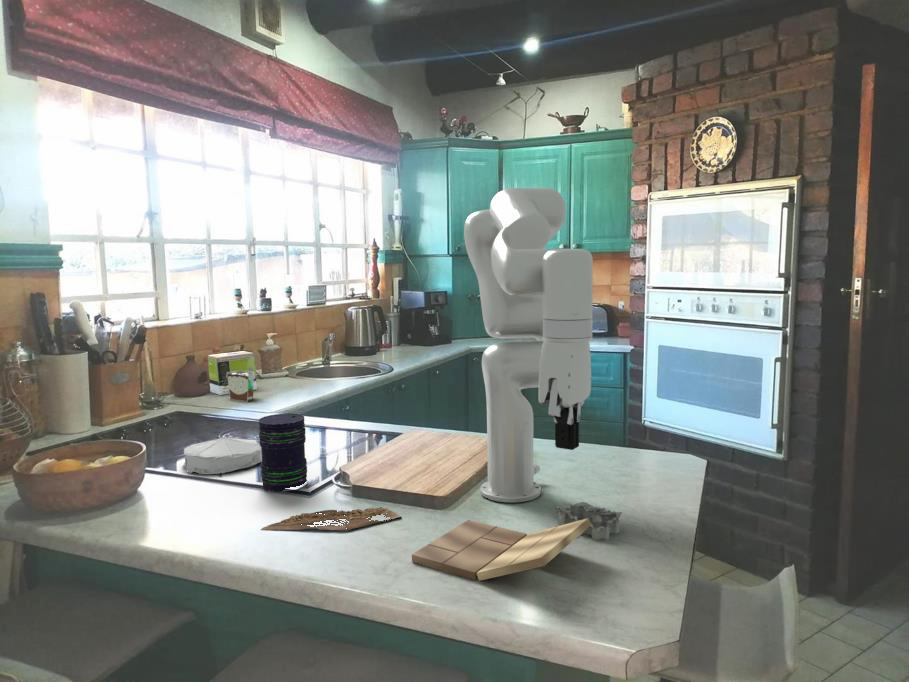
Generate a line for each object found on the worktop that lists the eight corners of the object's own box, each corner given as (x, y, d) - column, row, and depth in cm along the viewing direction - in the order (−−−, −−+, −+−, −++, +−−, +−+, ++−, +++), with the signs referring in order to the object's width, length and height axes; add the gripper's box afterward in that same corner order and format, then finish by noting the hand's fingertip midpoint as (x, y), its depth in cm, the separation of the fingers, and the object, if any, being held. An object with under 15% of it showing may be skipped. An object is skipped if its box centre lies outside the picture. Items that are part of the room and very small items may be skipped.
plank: (531, 540, 115) (528, 533, 115) (590, 525, 108) (587, 518, 108) (479, 580, 101) (476, 572, 101) (544, 565, 94) (540, 557, 94)
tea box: (247, 386, 266) (244, 350, 264) (257, 390, 258) (255, 352, 257) (209, 392, 257) (207, 354, 255) (219, 395, 249) (216, 356, 247)
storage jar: (273, 496, 140) (269, 426, 138) (254, 484, 147) (250, 418, 145) (315, 485, 146) (313, 418, 144) (295, 474, 154) (292, 411, 152)
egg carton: (551, 527, 122) (551, 505, 121) (576, 516, 127) (576, 495, 126) (601, 544, 114) (601, 521, 113) (625, 531, 119) (625, 509, 118)
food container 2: (264, 399, 241) (262, 371, 240) (250, 402, 236) (249, 374, 234) (240, 396, 247) (239, 369, 246) (227, 399, 242) (225, 371, 241)
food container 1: (171, 463, 166) (169, 436, 165) (249, 447, 178) (248, 422, 177) (194, 484, 150) (192, 455, 150) (278, 465, 162) (277, 438, 161)
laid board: (468, 526, 122) (468, 519, 122) (526, 540, 115) (526, 533, 115) (411, 561, 108) (411, 554, 108) (474, 580, 101) (474, 572, 101)
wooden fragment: (400, 508, 132) (400, 503, 132) (403, 530, 121) (402, 525, 121) (267, 517, 129) (267, 511, 129) (257, 540, 118) (257, 535, 118)
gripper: (565, 325, 110) (565, 433, 112) (522, 334, 98) (522, 456, 100) (608, 326, 106) (607, 439, 108) (569, 336, 93) (569, 463, 96)
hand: (567, 447), depth 104 cm, fingers closed
